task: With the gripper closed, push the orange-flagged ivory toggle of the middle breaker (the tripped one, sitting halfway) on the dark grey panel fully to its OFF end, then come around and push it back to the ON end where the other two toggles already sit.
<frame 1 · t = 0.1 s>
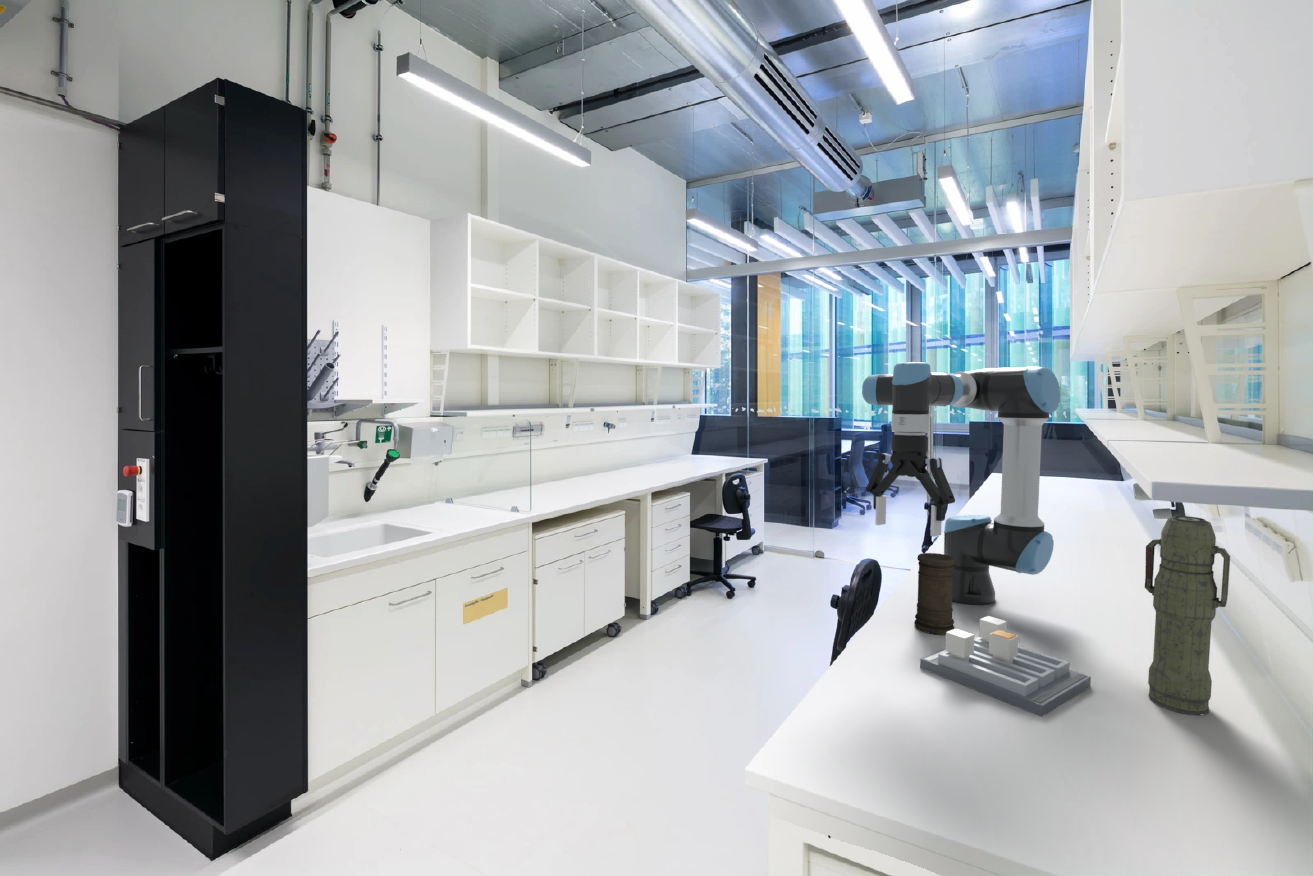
hand: (907, 529, 137), 28 cm above the table, fingers open, 13 cm apart
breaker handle: (1003, 650, 126), point 6 cm above the table, slide at 5.5 cm
panel: (1002, 676, 127), on the table
container: (934, 629, 153), on the table
thermos: (1177, 704, 116), on the table
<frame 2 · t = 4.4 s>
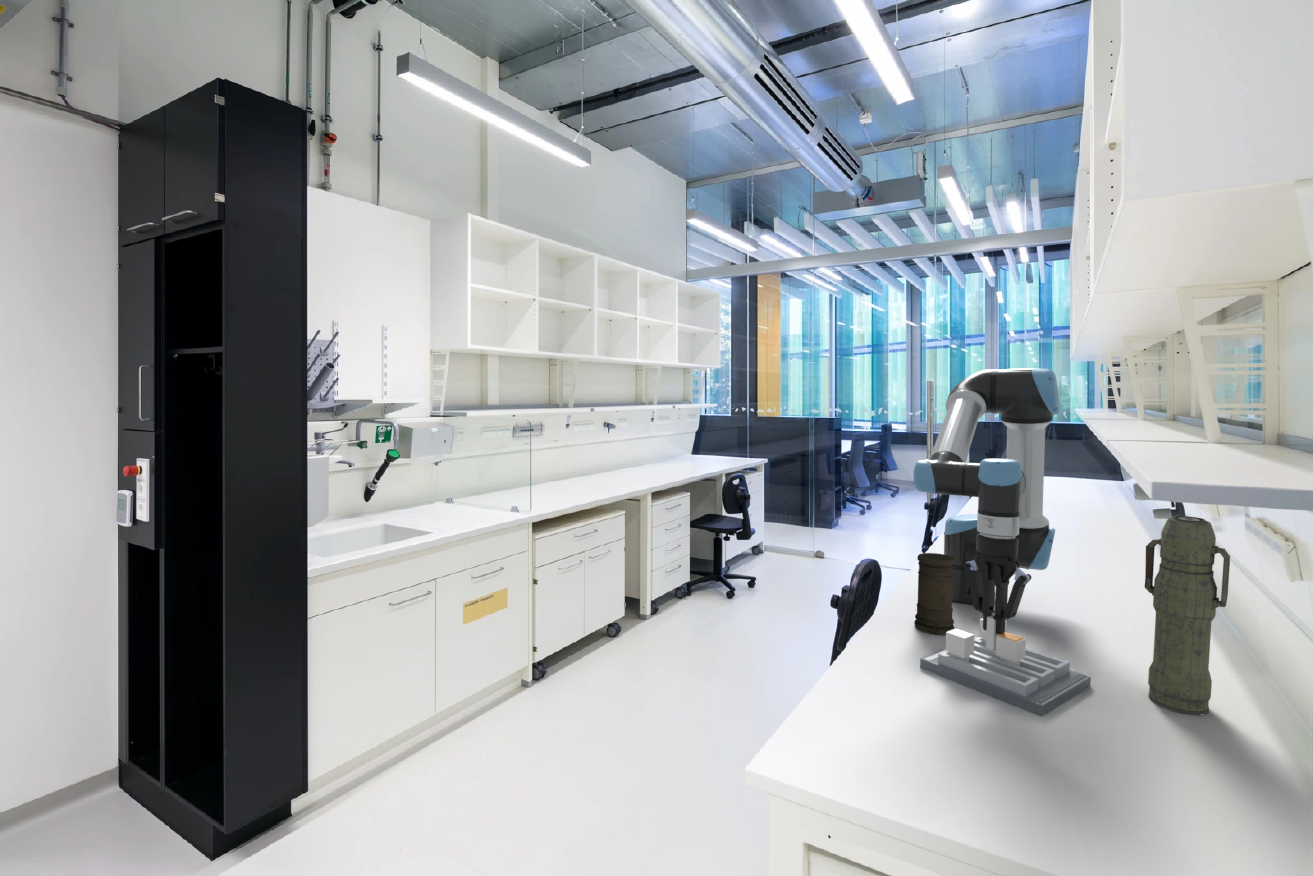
hand: (993, 647, 128), 6 cm above the table, fingers closed
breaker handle: (1010, 652, 125), point 6 cm above the table, slide at 6.9 cm, touching gripper
everything else where it was.
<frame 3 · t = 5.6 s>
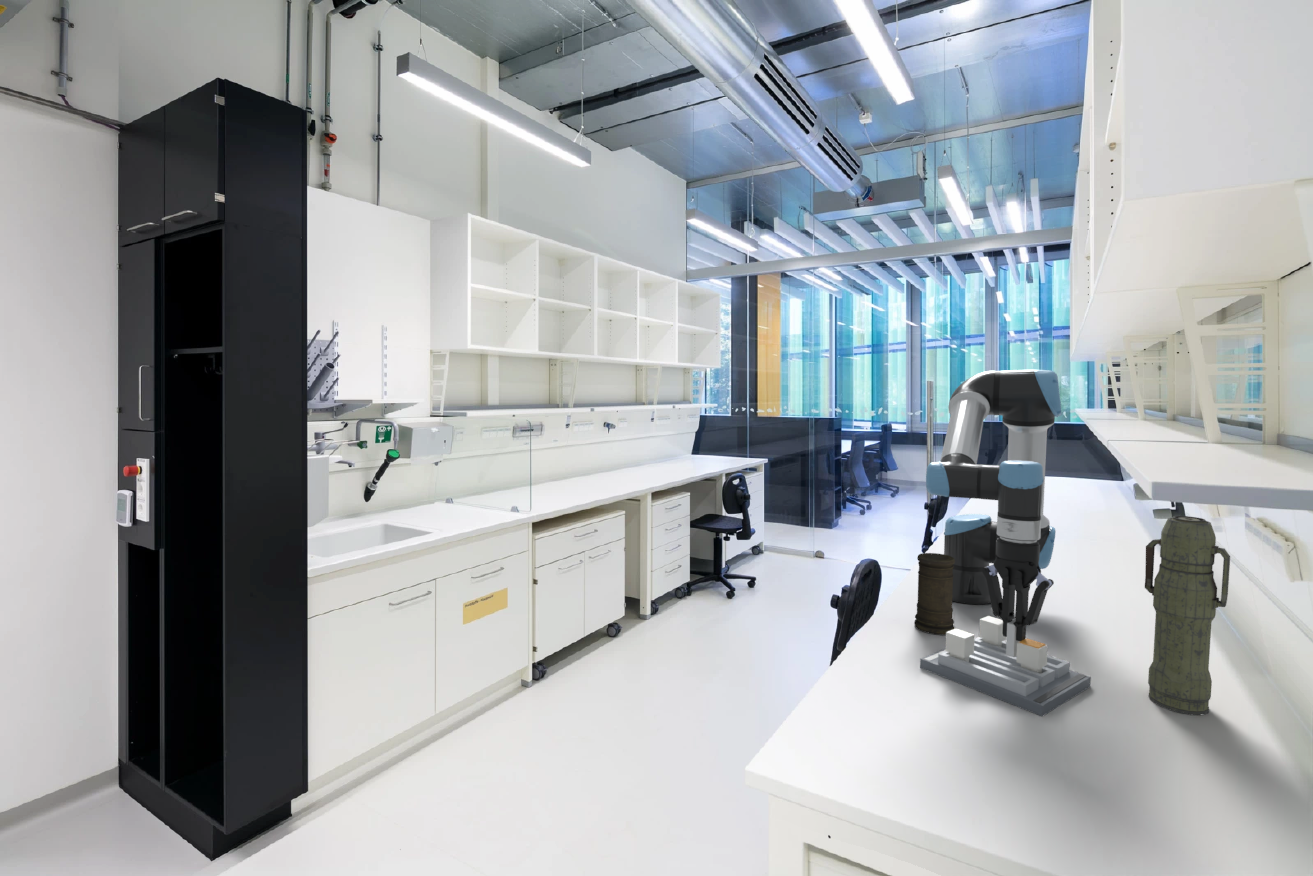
hand: (1013, 654, 125), 5 cm above the table, fingers closed
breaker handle: (1031, 659, 122), point 6 cm above the table, slide at 10.9 cm, touching gripper
everything else where it was.
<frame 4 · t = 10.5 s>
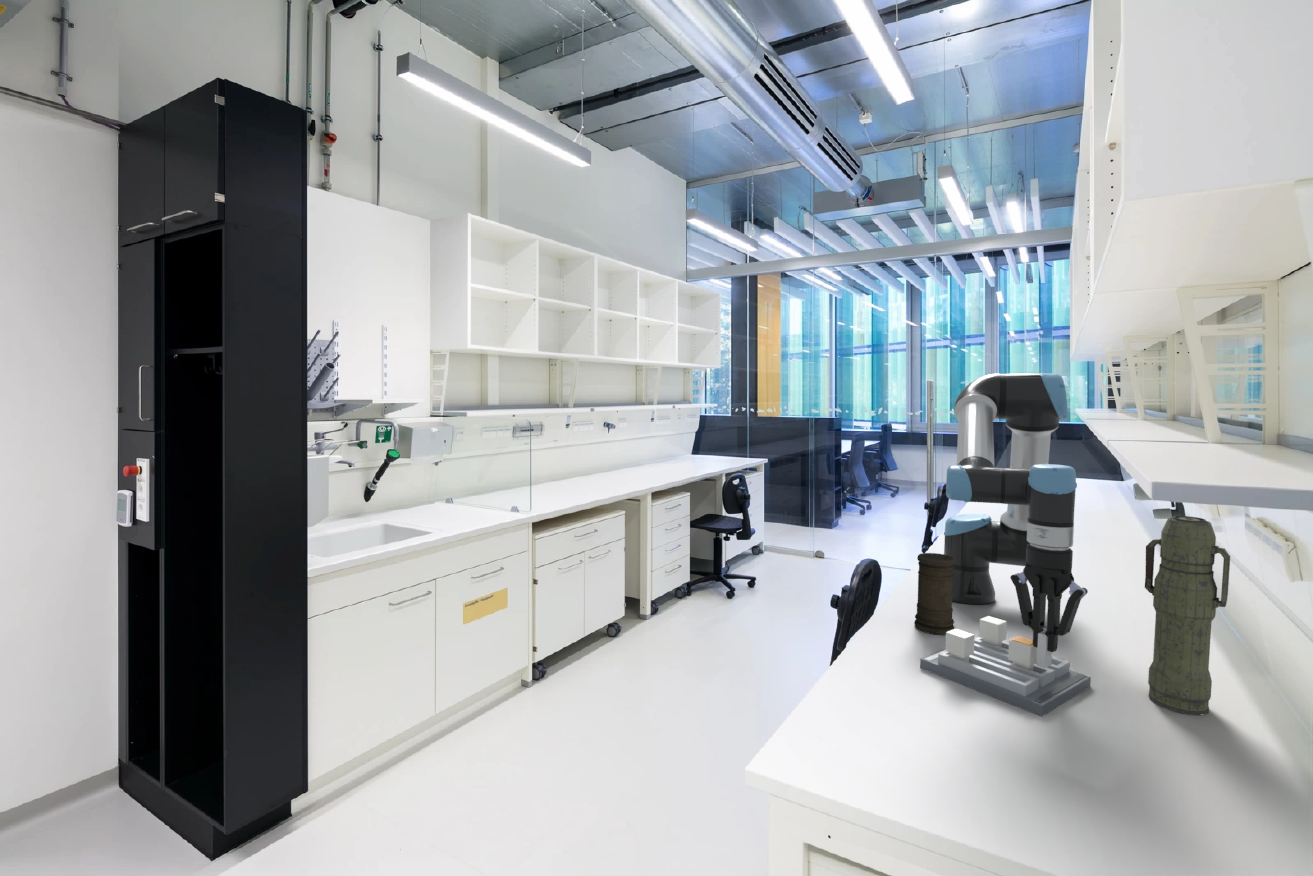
hand: (1044, 665, 120), 5 cm above the table, fingers closed
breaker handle: (1023, 657, 123), point 6 cm above the table, slide at 9.4 cm, touching gripper
everything else where it was.
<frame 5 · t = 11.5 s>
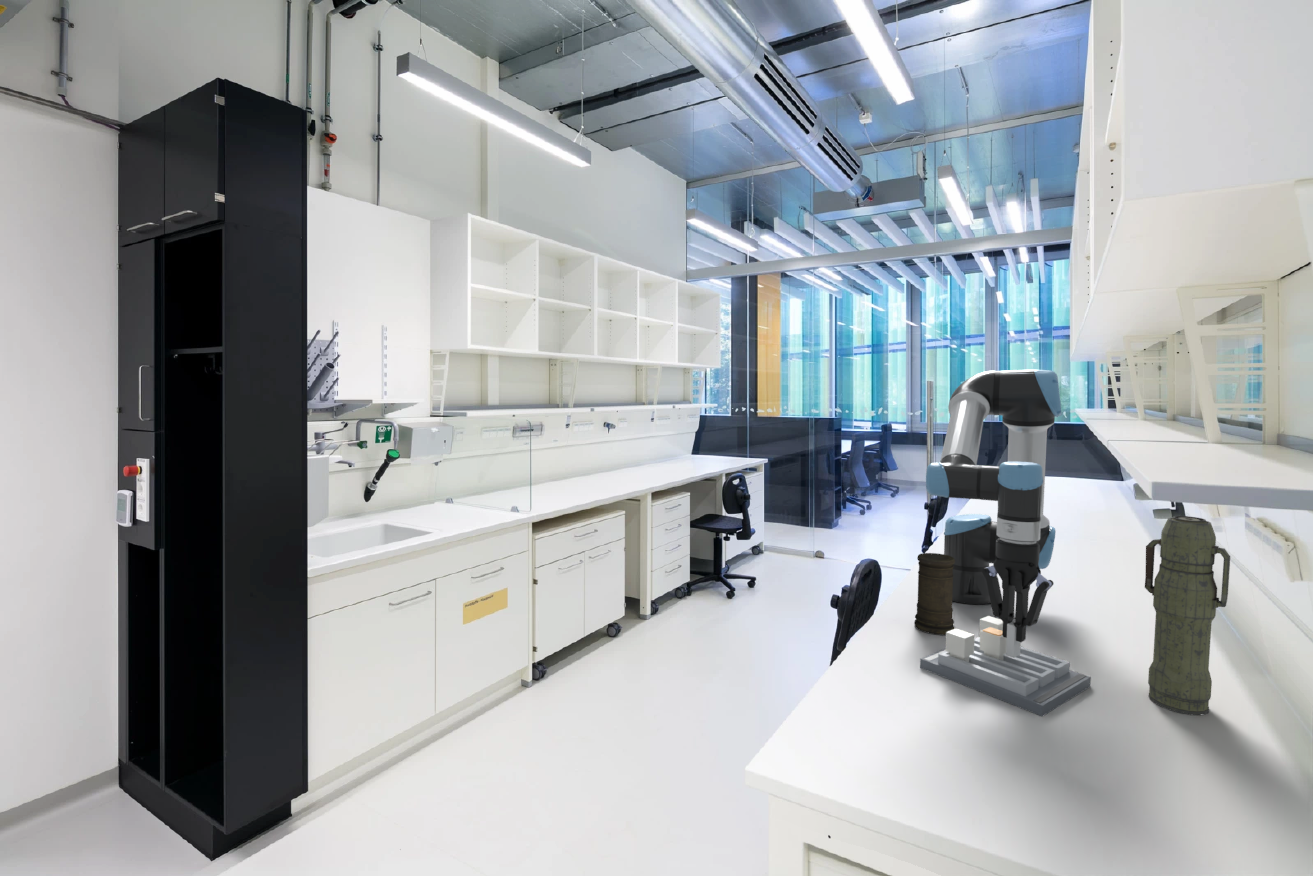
hand: (1013, 654, 125), 5 cm above the table, fingers closed
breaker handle: (993, 647, 128), point 6 cm above the table, slide at 3.6 cm, touching gripper
everything else where it was.
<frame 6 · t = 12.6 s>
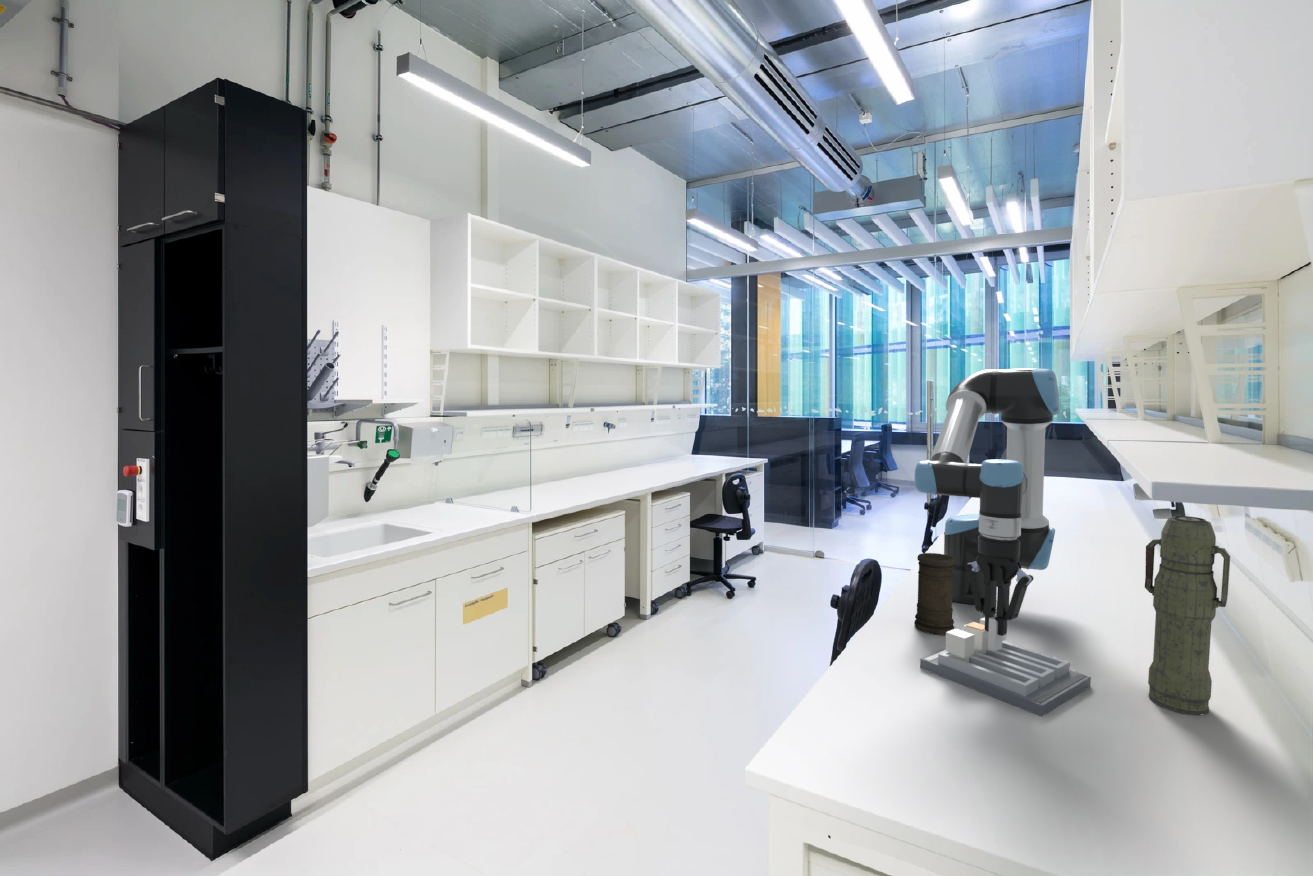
hand: (994, 648, 128), 5 cm above the table, fingers closed
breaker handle: (977, 641, 131), point 6 cm above the table, slide at 0.1 cm, touching gripper
everything else where it was.
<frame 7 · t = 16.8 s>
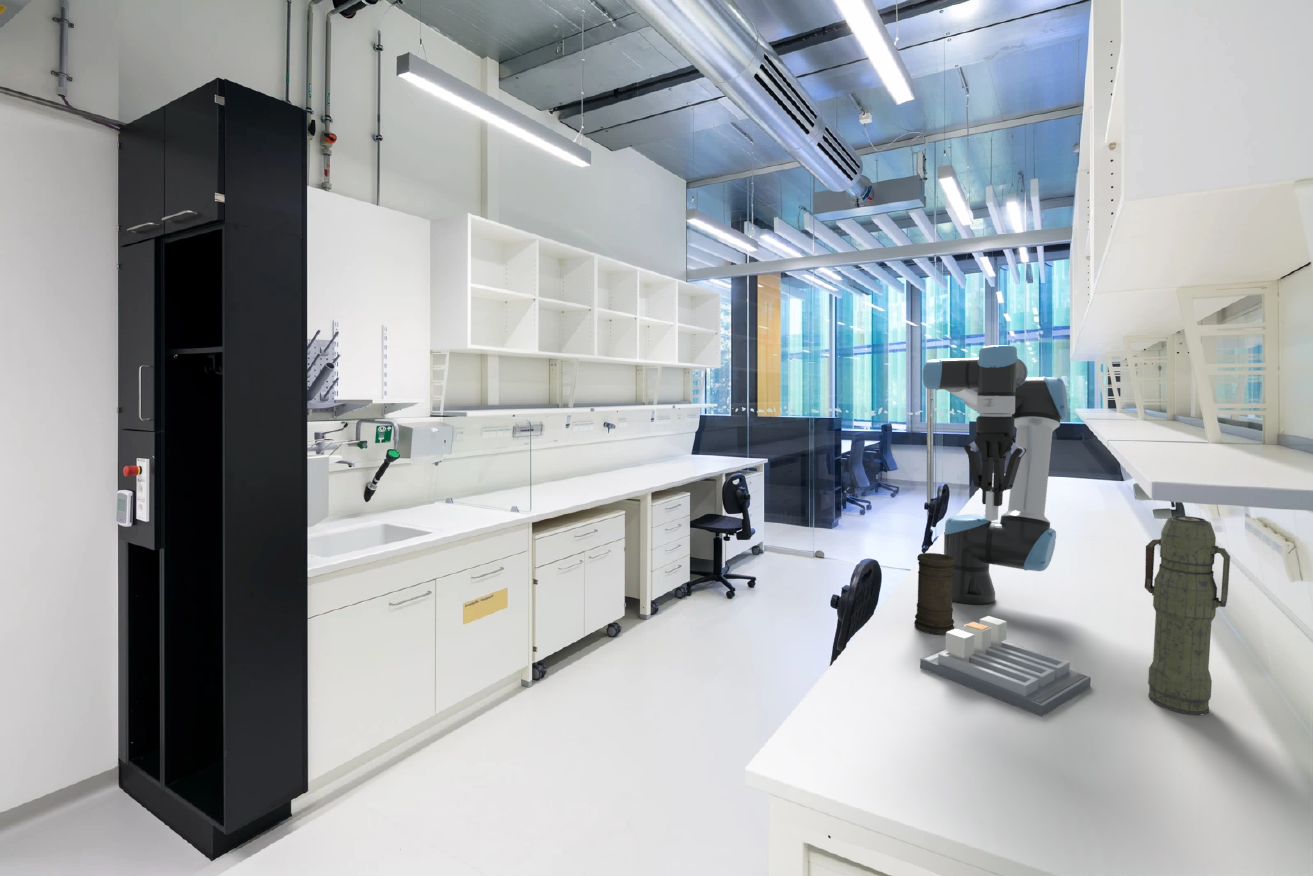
hand: (991, 519, 140), 29 cm above the table, fingers closed
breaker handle: (976, 641, 131), point 6 cm above the table, slide at 0.0 cm
everything else where it was.
at the end: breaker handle slide at 0.0 cm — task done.
